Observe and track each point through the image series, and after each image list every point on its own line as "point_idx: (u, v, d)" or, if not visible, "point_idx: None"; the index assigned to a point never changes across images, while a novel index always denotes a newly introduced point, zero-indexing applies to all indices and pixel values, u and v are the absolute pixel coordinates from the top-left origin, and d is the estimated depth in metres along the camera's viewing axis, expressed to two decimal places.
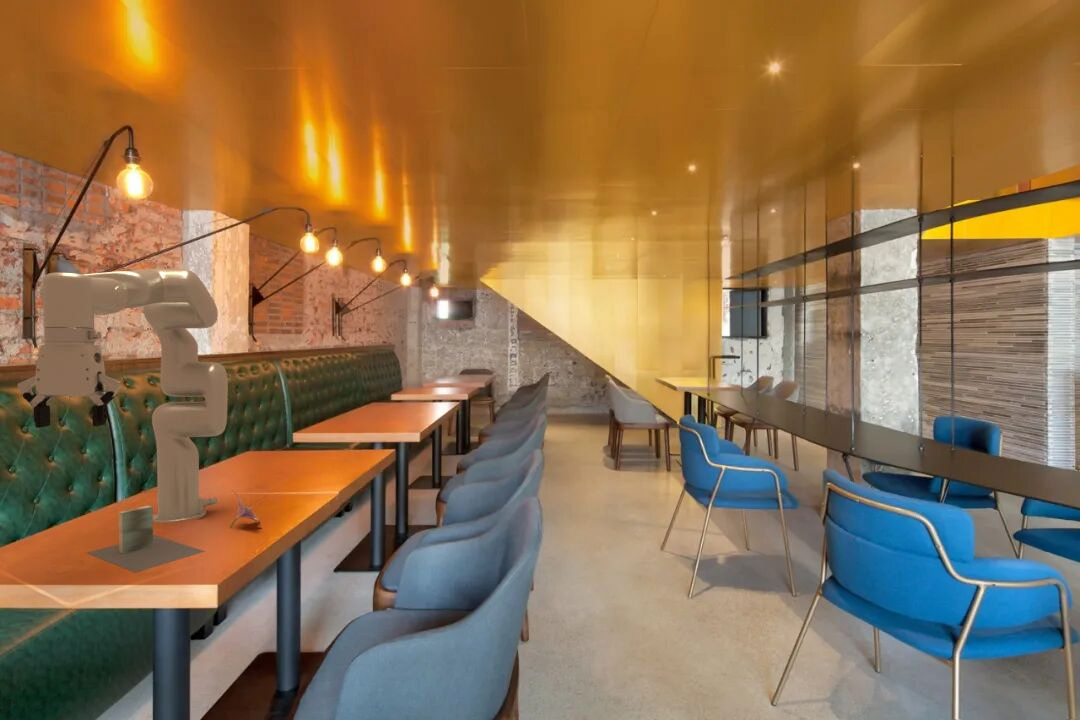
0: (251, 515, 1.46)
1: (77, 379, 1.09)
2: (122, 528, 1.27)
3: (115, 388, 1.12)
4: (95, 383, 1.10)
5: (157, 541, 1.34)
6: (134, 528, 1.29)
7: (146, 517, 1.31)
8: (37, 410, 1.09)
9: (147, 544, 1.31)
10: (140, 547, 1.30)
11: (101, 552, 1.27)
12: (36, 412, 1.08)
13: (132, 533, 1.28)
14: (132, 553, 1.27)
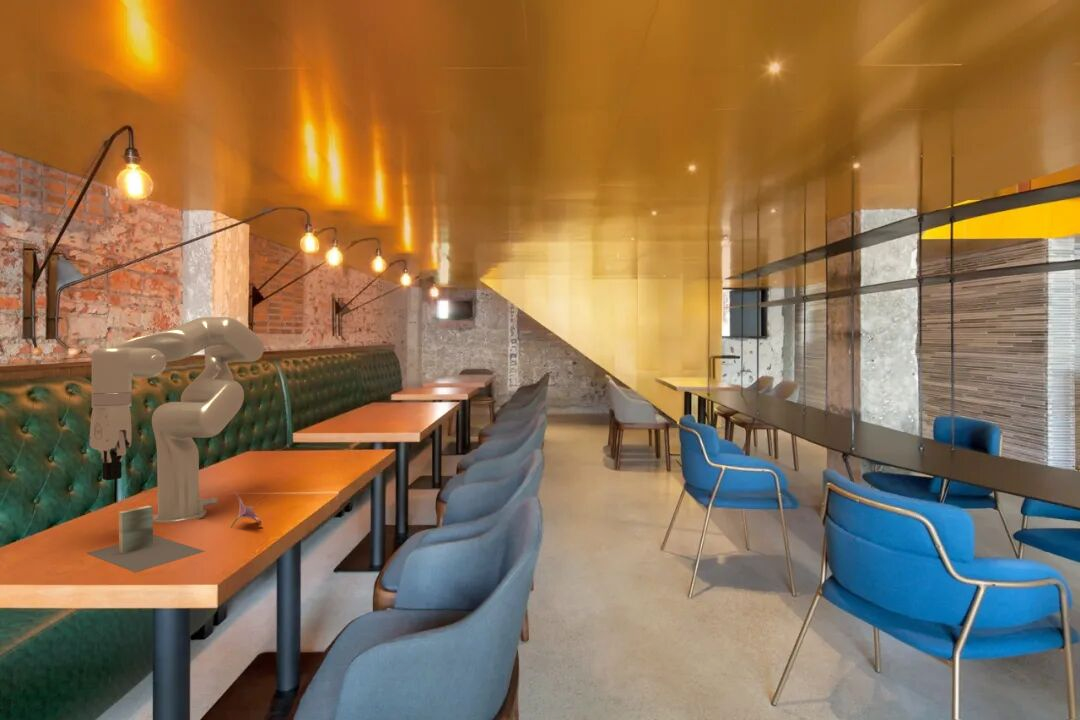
0: (252, 515, 1.46)
1: None
2: (122, 528, 1.27)
3: None
4: None
5: (157, 541, 1.34)
6: (134, 528, 1.29)
7: (146, 517, 1.31)
8: None
9: (147, 544, 1.31)
10: (140, 547, 1.30)
11: (101, 552, 1.27)
12: None
13: (132, 533, 1.28)
14: (132, 553, 1.27)
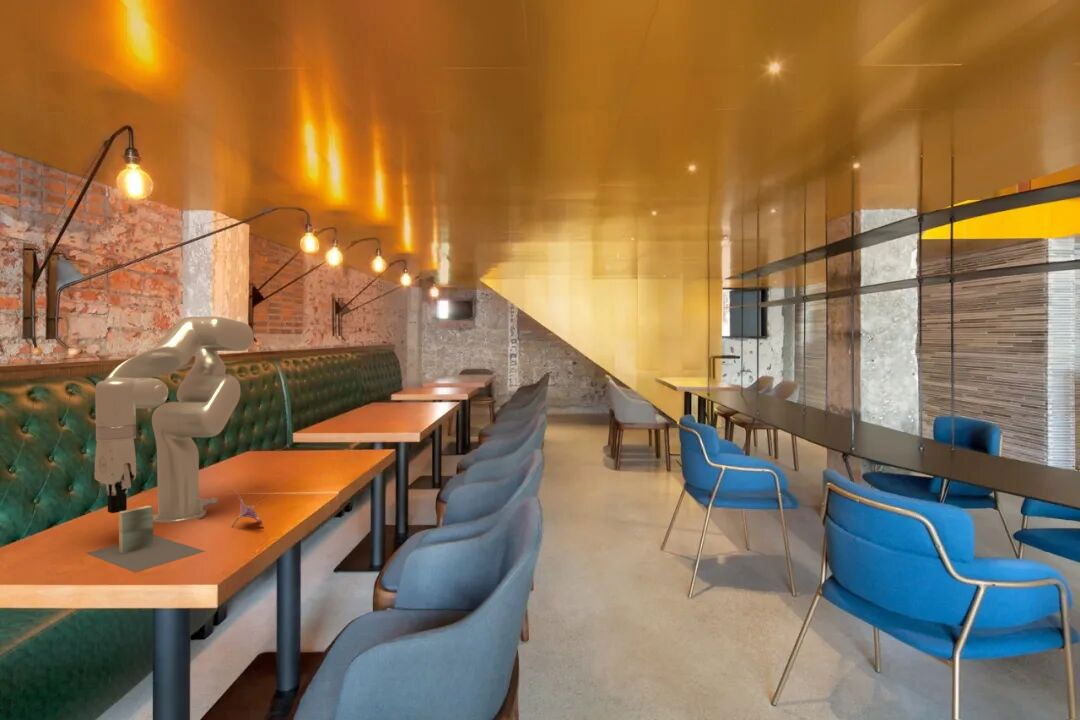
0: (253, 514, 1.46)
1: None
2: (122, 528, 1.27)
3: None
4: None
5: (157, 541, 1.34)
6: (134, 528, 1.29)
7: (146, 517, 1.31)
8: None
9: (147, 544, 1.31)
10: (140, 547, 1.30)
11: (101, 552, 1.27)
12: None
13: (132, 533, 1.28)
14: (132, 553, 1.27)
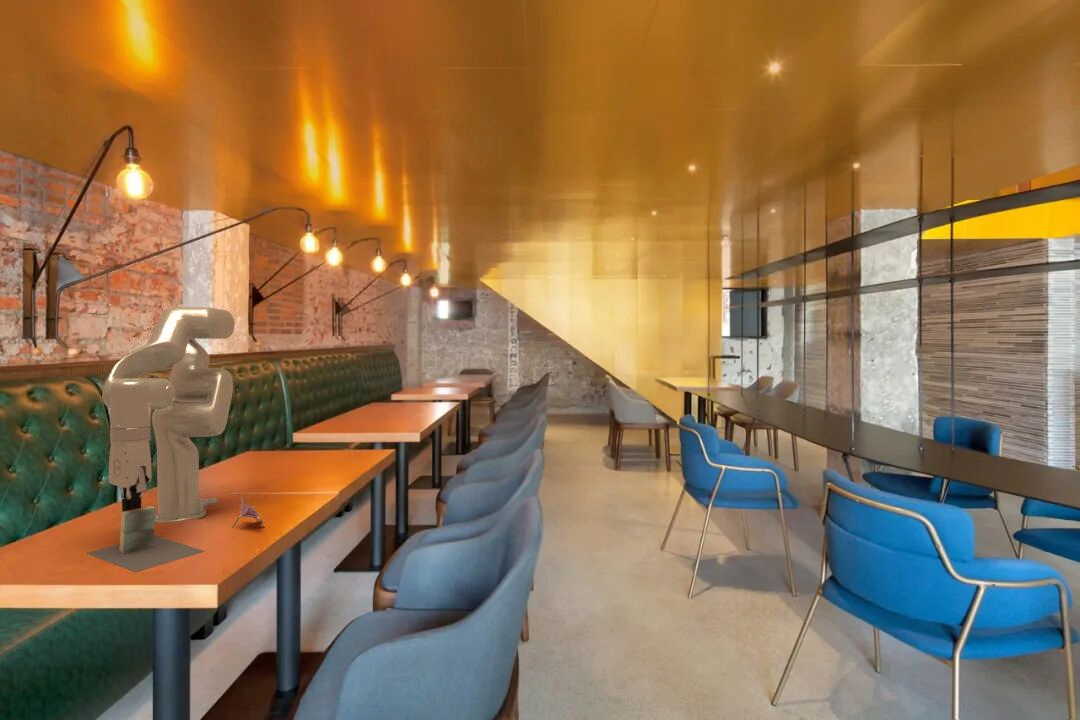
0: (254, 514, 1.47)
1: None
2: (124, 529, 1.26)
3: None
4: None
5: (157, 541, 1.34)
6: (136, 529, 1.28)
7: (148, 518, 1.30)
8: None
9: (147, 544, 1.31)
10: (140, 547, 1.30)
11: (101, 552, 1.27)
12: None
13: (134, 534, 1.28)
14: (132, 553, 1.27)
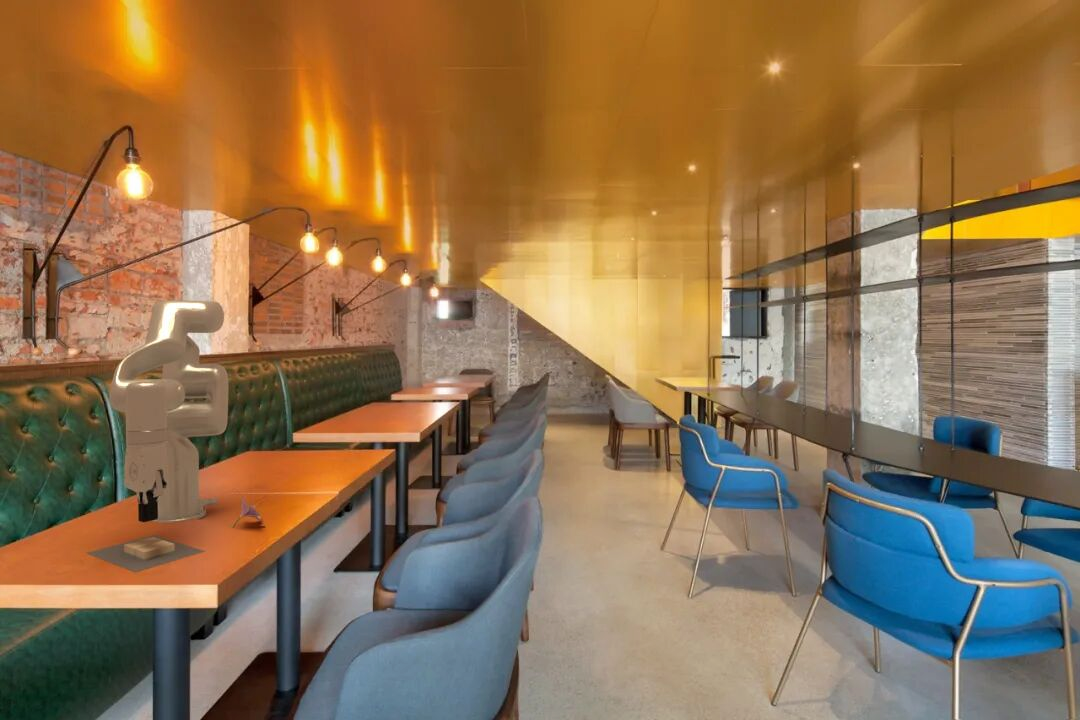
0: (255, 514, 1.47)
1: None
2: (136, 556, 1.24)
3: None
4: None
5: None
6: None
7: None
8: None
9: None
10: None
11: (101, 552, 1.27)
12: None
13: None
14: None
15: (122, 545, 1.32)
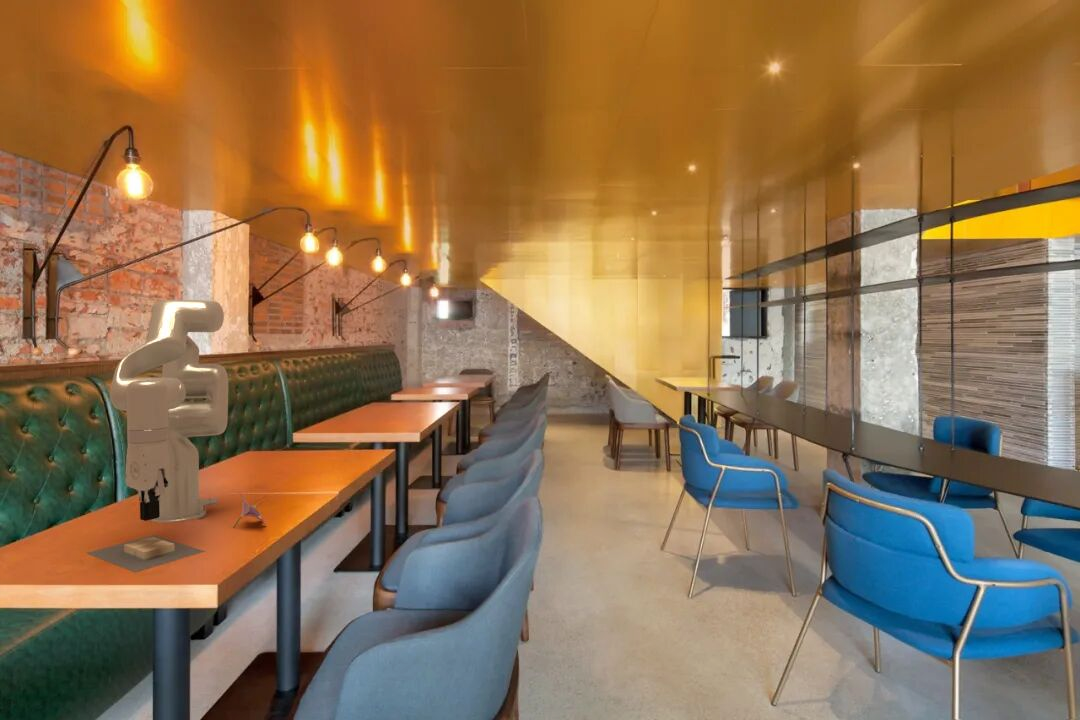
0: (255, 513, 1.47)
1: None
2: (136, 556, 1.24)
3: None
4: None
5: None
6: None
7: None
8: None
9: None
10: None
11: (101, 552, 1.27)
12: None
13: None
14: None
15: (122, 545, 1.32)
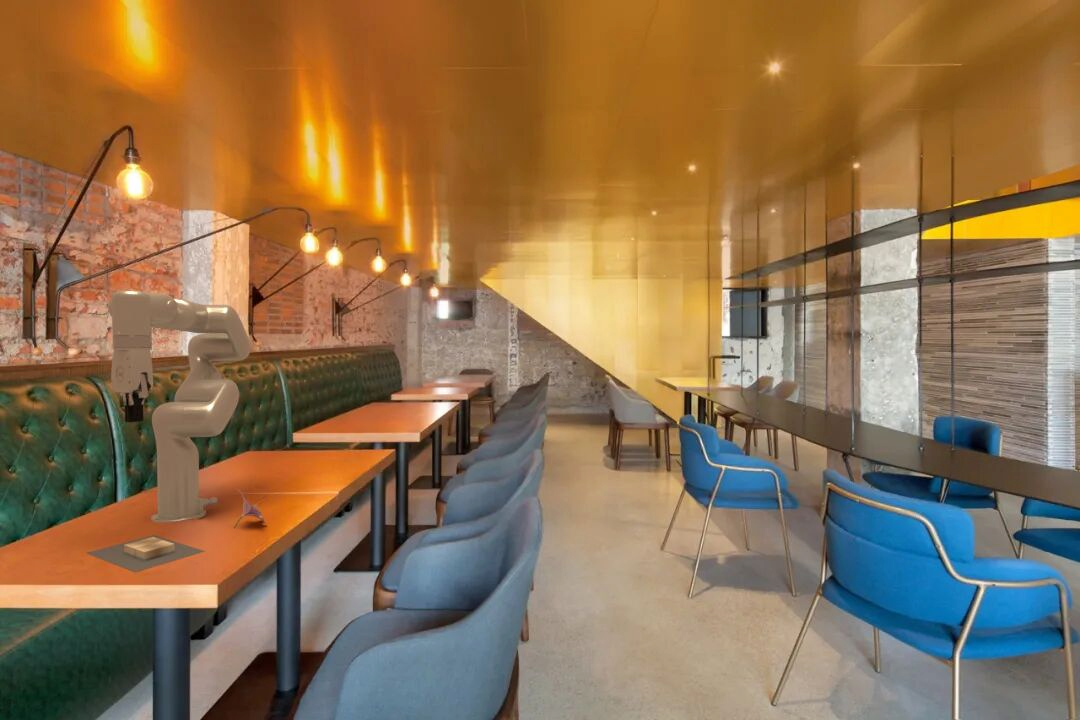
0: (256, 513, 1.47)
1: None
2: (136, 556, 1.24)
3: None
4: None
5: None
6: None
7: None
8: None
9: None
10: None
11: (101, 552, 1.27)
12: None
13: None
14: None
15: (122, 545, 1.32)
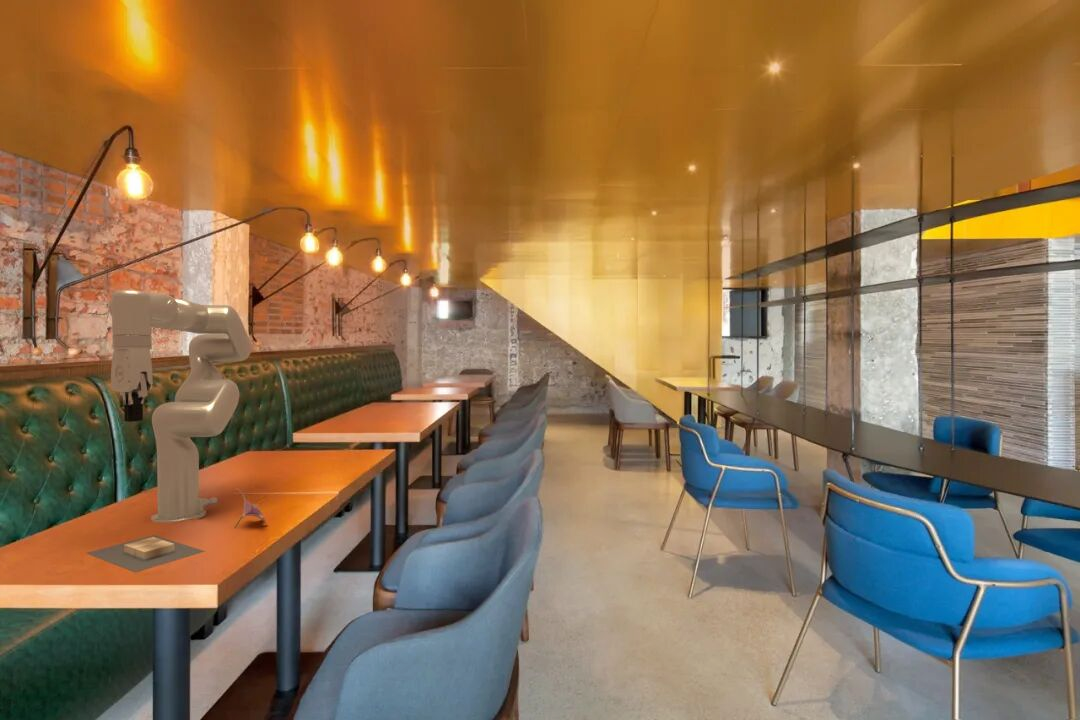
0: (257, 513, 1.48)
1: None
2: (136, 556, 1.24)
3: None
4: None
5: None
6: None
7: None
8: None
9: None
10: None
11: (101, 552, 1.27)
12: None
13: None
14: None
15: (122, 545, 1.32)
